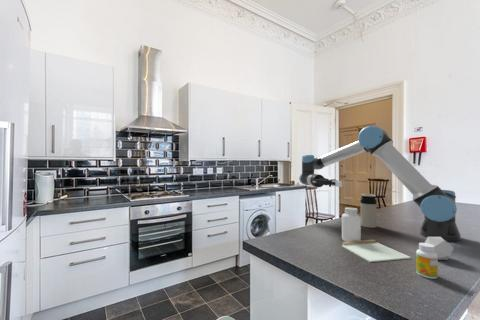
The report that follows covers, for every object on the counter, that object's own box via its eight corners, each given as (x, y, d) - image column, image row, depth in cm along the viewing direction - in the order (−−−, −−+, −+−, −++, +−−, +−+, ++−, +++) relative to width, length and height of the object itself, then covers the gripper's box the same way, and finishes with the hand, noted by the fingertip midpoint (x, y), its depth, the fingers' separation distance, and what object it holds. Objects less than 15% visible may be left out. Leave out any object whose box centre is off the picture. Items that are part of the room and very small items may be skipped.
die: (456, 267, 81) (461, 242, 84) (431, 253, 82) (438, 229, 85) (437, 265, 88) (442, 243, 91) (415, 253, 90) (421, 231, 93)
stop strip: (342, 245, 100) (342, 241, 100) (373, 243, 103) (373, 239, 103) (343, 246, 99) (343, 242, 99) (375, 243, 102) (375, 240, 102)
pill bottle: (359, 238, 108) (359, 207, 109) (362, 244, 101) (362, 210, 101) (340, 237, 111) (340, 206, 111) (342, 242, 103) (342, 209, 104)
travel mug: (363, 227, 127) (363, 195, 128) (358, 224, 135) (358, 193, 136) (379, 228, 126) (378, 195, 126) (373, 224, 134) (373, 194, 134)
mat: (341, 246, 98) (341, 245, 98) (377, 243, 102) (377, 242, 102) (369, 262, 83) (369, 260, 83) (411, 258, 86) (411, 257, 86)
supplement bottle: (411, 271, 76) (411, 241, 76) (426, 270, 76) (426, 241, 77) (426, 279, 71) (426, 247, 71) (442, 278, 71) (442, 247, 71)
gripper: (325, 186, 138) (352, 191, 115) (305, 186, 135) (328, 192, 112) (325, 174, 138) (352, 176, 115) (305, 174, 135) (329, 176, 112)
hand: (340, 184), depth 114 cm, fingers closed
